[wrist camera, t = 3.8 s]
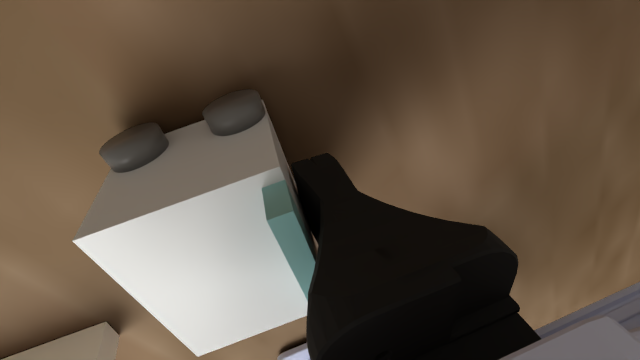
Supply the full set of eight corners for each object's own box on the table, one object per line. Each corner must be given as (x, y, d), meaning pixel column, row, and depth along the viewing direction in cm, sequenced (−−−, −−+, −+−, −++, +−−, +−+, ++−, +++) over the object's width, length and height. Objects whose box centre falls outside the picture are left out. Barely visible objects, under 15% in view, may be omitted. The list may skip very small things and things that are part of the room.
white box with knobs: (313, 229, 15) (351, 345, 11) (210, 267, 15) (204, 401, 10) (255, 82, 11) (277, 174, 6) (110, 133, 11) (25, 264, 6)
